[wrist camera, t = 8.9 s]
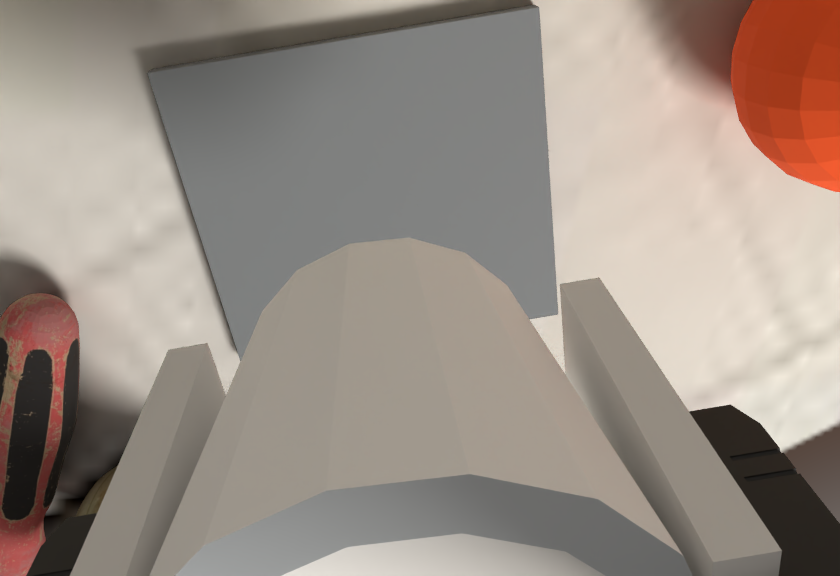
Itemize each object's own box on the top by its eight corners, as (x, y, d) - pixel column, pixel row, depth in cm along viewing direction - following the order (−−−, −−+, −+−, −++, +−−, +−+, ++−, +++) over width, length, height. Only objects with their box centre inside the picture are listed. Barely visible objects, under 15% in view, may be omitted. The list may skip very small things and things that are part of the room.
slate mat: (245, 358, 25) (242, 368, 24) (152, 68, 20) (147, 73, 19) (553, 305, 25) (558, 314, 24) (534, 5, 20) (538, 7, 20)
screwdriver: (27, 726, 34) (-1, 795, 31) (-40, 719, 33) (-75, 789, 30) (108, 288, 23) (77, 335, 21) (12, 264, 23) (-31, 310, 20)
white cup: (216, 188, 12) (76, 470, 6) (596, 221, 13) (816, 495, 7) (218, 489, 15) (128, 877, 9) (525, 498, 16) (633, 856, 10)
